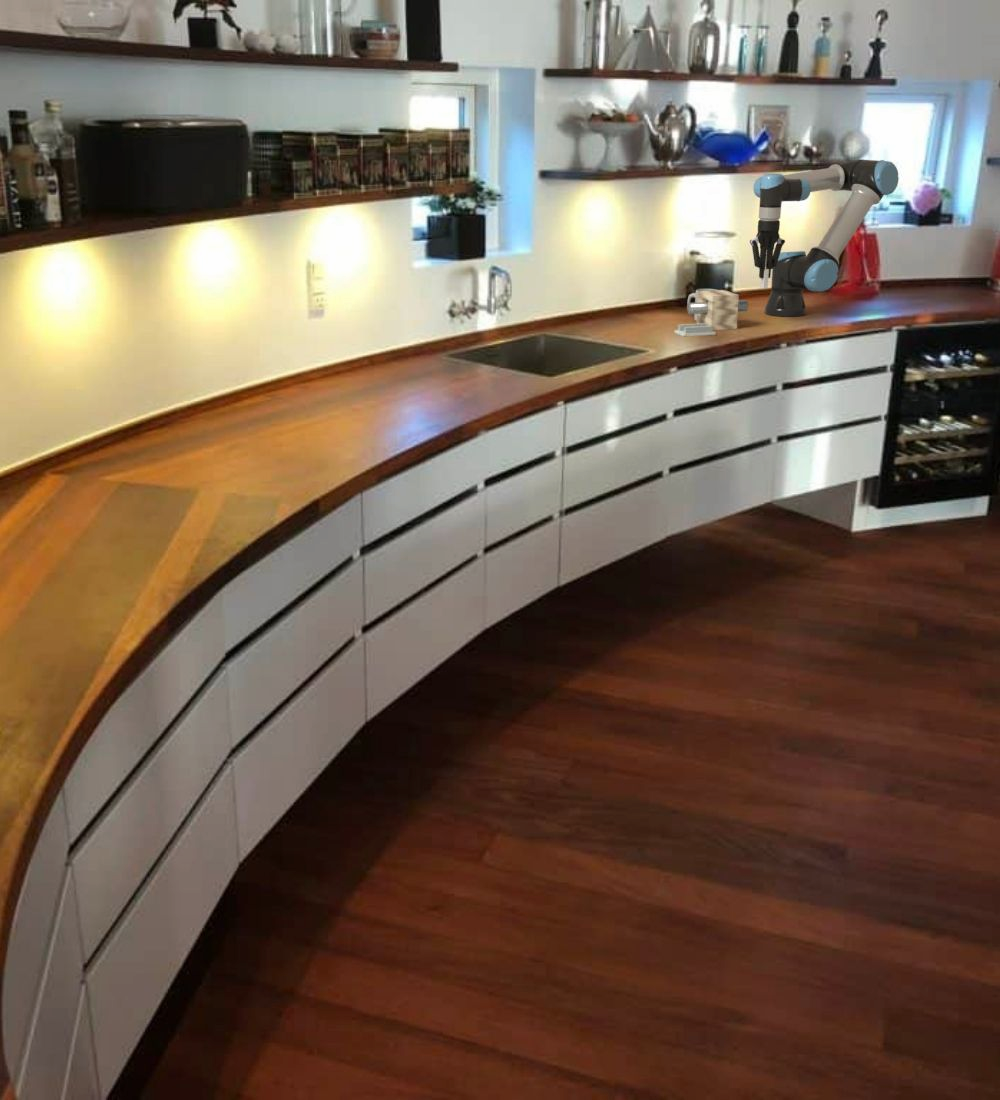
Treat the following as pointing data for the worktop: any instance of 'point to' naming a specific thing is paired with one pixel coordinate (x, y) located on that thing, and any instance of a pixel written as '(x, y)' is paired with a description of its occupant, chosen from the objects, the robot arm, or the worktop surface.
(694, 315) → the mug
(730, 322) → the patterned beige cube
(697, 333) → the cradle
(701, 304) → the axle
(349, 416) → the worktop surface
